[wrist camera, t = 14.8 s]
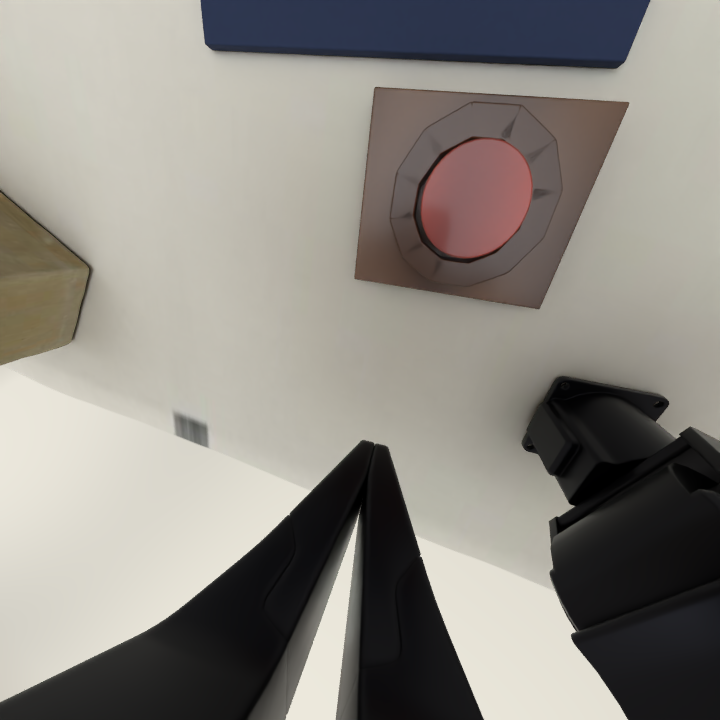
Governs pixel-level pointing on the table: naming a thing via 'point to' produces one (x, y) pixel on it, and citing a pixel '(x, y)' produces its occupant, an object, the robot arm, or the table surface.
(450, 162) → the button
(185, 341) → the table surface
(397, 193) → the button block
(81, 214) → the table surface
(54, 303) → the caddy
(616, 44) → the pad
